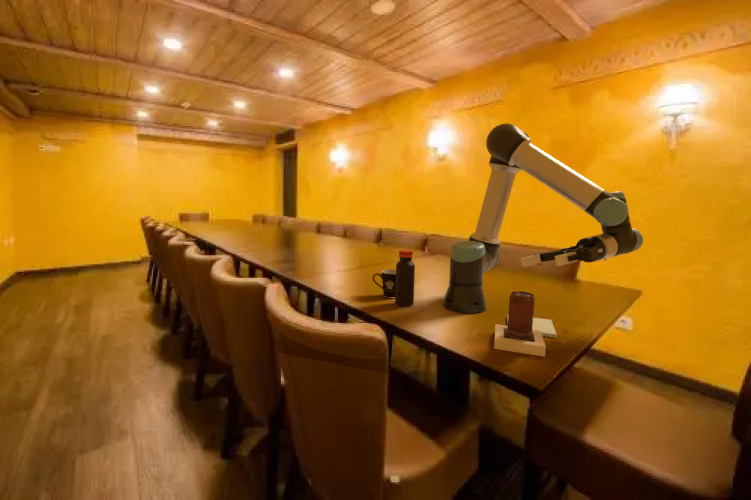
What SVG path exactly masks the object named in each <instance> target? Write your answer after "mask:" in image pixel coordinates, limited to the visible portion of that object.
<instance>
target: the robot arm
mask: <svg viewBox="0 0 751 500" xmlns="http://www.w3.org/2000/svg"><path fill="white" fill-rule="evenodd" d="M485 146H486V150H487V152H488V154H489V155H490V158H489V162H488V165H489V166H490V168H491V172H490V174H489V175H490V176H489V177H488V178H489V179H488V182H487V185H486V186H487V187H486V190H485V194H484V196H483V197H484V198H483V200H482V205H481V209H480V213H479V216H478V220H477V223H476V227H475V231H474V232H473V233H471V234H470V235H469V238H468V240H462V241H456V242H454V243H453V244H452V245H451V248H450V252H449V256H450V259H449V260H450V261H449V281H448V287H447V290H446V292H445V294H444V298H443V307H444V308H446V309H448V310H450V311H453V312H458V313H466V314H467V313H468V314H469V313H470V314H475V313H482V312H485V311H486V310H487V299H486V296H485V292H484V291H485V290H484V289H483V284H484V282H483V281H484V273H486V272H489V271H491V270H493V269H494V268H495V267H496V266H497V264H498V263H499V261H500V258H501V257H500V256H501V255H500V247H501V242H502V241H501V239H500V238H499V234H500V232H501V231H500V230H501V228H502V224H503V222H504V217H505V213H506V210H507V206H508V203H509V199H510V197H511V193H512V189H513V187H514V182H515V178H516V175H517V173H519V172H521V171H524V173H526V174H528V175H529V176H531V177H533V178H534V179H535V180H537V181H538V182H540V183H541V184H543V185H545V186H546V187H548V188H549V189H550V190H552V191H554V192H555V193H557V194H558V195H560V196H561V197H563V199H566V200H567V201H569V202H570V203H571V204H573V205H574V206H576V207H578V208H579V209H580V210H582V211H583V212H585V213H586V214H587V215H589V216H590V217H592V218H593V219H595V220H596V222H597V223H599V224H600V226H601V231H602V232H601V233H600V234H596V235H592V236H588V237H587V236H586V237H584V238H580V239H579V240H578V241H577V243H576V244H575V245H572V246H570V247H564V248H561V249H557V250H551V251H546V252H545V251H544V252H540V253H534V254H533V255H530V256H525V257H524V256H523V257H521V258H520V262H521V263H520V264H521V266H522V268H525V267H530V266H533V265H538V266H539V265H541V263H544V262H550V261H555V266H556V267H562V266H565V265H569V264H573V263H576V262H578V261H580V262H584V263H588V264H590V263H594V262H598V261H601V260H603V261H604V262H605V261H608V259H609V258H613V257H618V256H622V255H627V254H630V253H632V252H636V251H637V250H639V249H641V247H642V246H643V244H644V241H643V240H644V238H643V235H642V234H641V232H640V231H639V230H638V229H636V228H633V227H632V224H631V220H630V215H629V206H628V204H627V198H626V196H625V193H624V192H623V191H622V190H619V191H613V192H608V191H607V190H605V189H604V188H602V187H600V186H599V185H598V184H596V183H594V182H593V181H591V180H589V179H588V178H586V177H585V176H583V175H581V174H579V173H578V172H576V171H575V170H573V169H571V168H570V167H568V166H567V165H565V164H564V163H562V162H561V161H559V160H557V159H556V158H554V156H551V155H550V154H548V153H547V152H544V150H541V149H540V148H539V147H537V146H535V145H533V144H532V140H531V138H530V136H529V135H528V133H526V131H524V130H523V129H520V128H519V127H518V126H516V125H515V124H512V123H509V122H508V123H500V124H498V125H496V126H494V127H493V128H492V130H490V131H489V133H488V135H487V137H486V141H485Z"/></svg>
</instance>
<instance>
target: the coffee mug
mask: <svg viewBox="0 0 751 500" xmlns="http://www.w3.org/2000/svg"><path fill="white" fill-rule="evenodd" d="M376 276H379V277H380V278H381V283H382V285H381V284H379V283H378V282H376V280H375V277H376ZM372 281H373V282H374V284H375V285H377V286H378V287H380V288H381V289H382V291H383V297H384V296H386V297H395V293H396V269H383V270H381V273H374V274H373V276H372ZM386 297H385V298H386Z"/></svg>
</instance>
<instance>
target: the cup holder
mask: <svg viewBox="0 0 751 500" xmlns="http://www.w3.org/2000/svg"><path fill="white" fill-rule="evenodd" d="M494 329H495V330H494V343H493V349H495V350H501V351H507V352H513V353H514V352H515V353H520V354H524V355H525V354H526V355H532V356H539V357H544V358H545V357H546V347H547V346H546V343H545V340H544V336H542V333H541V330H535V329H532V337H531V342H530V341H523V340H516V339H509V338H507V325H503V324H495V327H494Z"/></svg>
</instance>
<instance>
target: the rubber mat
mask: <svg viewBox="0 0 751 500" xmlns="http://www.w3.org/2000/svg"><path fill="white" fill-rule="evenodd" d="M506 320H507V325H506V326H508V314H507V315H506ZM532 329H535V330H541V333H542V336H543V337H549V338H556V339H557V337H558V334H557V332H556V328H555V326H554V324H553V321H552V319H547V318H539V317H533V326H532Z"/></svg>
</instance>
